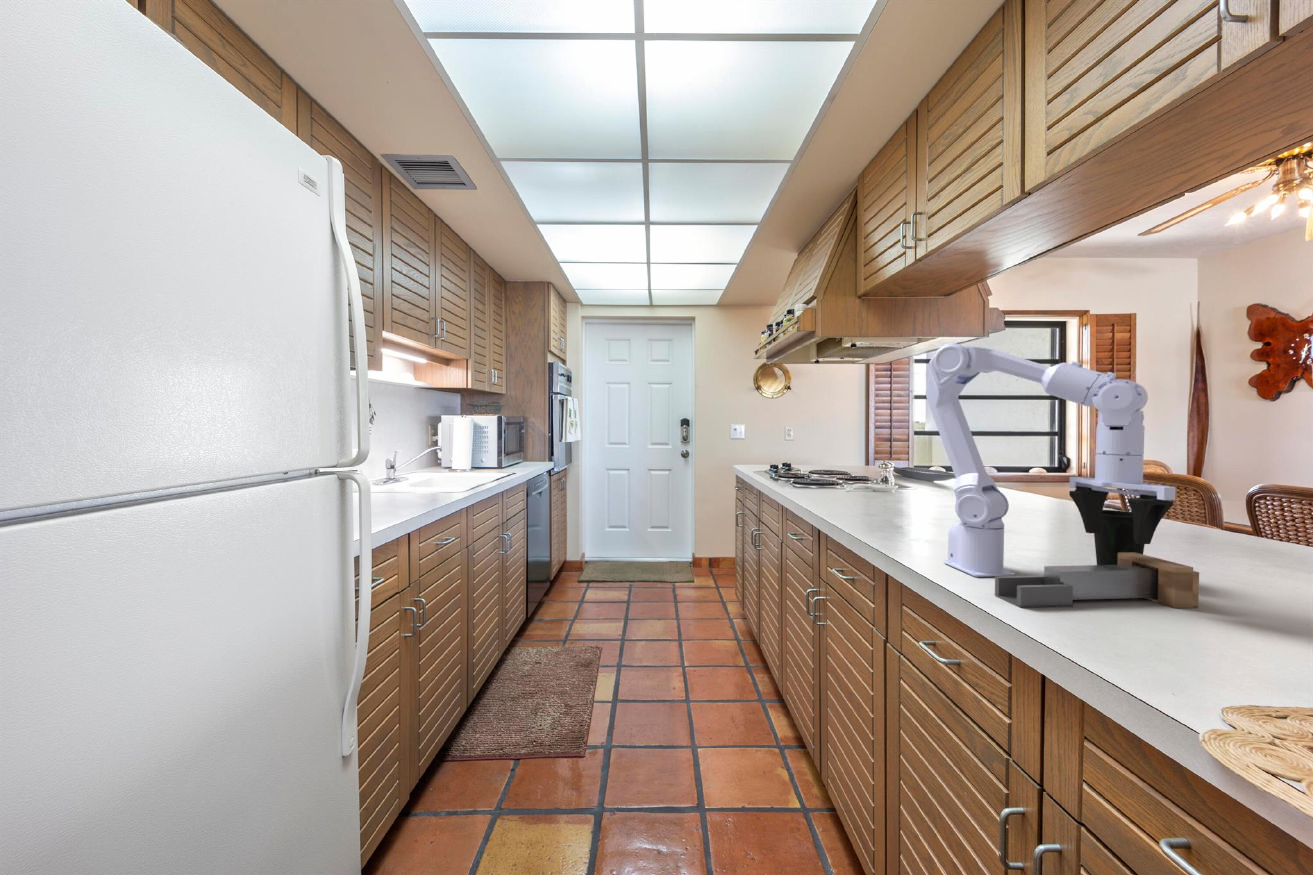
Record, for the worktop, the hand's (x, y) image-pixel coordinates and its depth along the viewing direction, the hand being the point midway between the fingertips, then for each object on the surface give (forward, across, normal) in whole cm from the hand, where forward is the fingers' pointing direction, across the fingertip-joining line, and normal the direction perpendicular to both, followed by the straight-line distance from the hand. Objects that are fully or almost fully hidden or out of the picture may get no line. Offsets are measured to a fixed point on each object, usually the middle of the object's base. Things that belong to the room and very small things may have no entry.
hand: (1116, 538), depth 81 cm
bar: (+10, 0, -2) cm, 10 cm away
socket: (+10, +1, +7) cm, 12 cm away
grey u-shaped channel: (+10, -1, -14) cm, 17 cm away
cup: (+10, -9, +12) cm, 18 cm away
